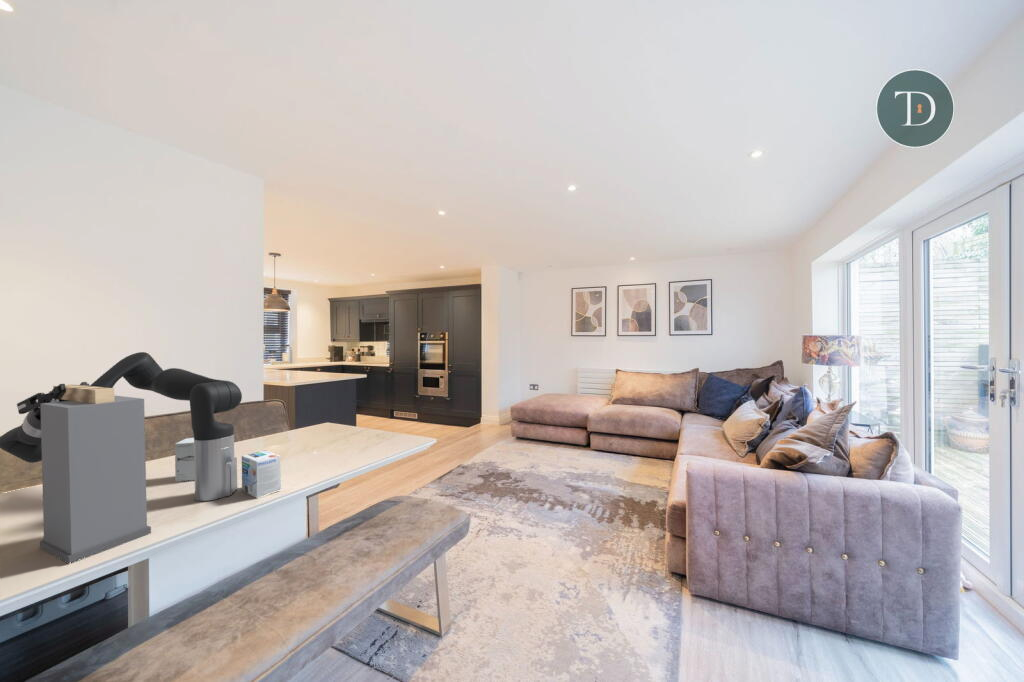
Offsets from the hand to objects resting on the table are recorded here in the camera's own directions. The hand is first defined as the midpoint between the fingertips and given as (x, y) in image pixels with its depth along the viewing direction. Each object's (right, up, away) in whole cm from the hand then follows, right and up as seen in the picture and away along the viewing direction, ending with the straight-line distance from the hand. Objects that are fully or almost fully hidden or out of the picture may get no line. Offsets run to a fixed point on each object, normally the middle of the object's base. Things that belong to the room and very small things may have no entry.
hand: (74, 386), depth 89 cm
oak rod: (+4, -3, -2) cm, 5 cm away
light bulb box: (+29, -35, +24) cm, 51 cm away
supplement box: (-2, -35, +35) cm, 50 cm away
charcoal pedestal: (+9, -35, -3) cm, 36 cm away
